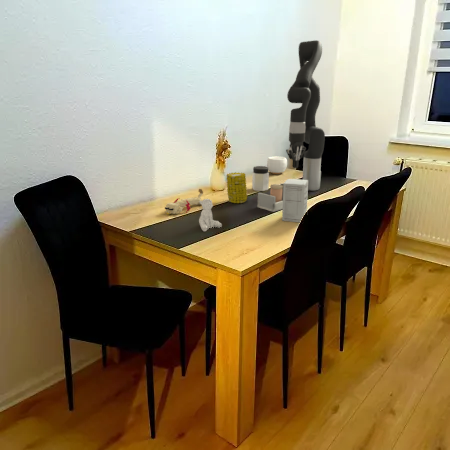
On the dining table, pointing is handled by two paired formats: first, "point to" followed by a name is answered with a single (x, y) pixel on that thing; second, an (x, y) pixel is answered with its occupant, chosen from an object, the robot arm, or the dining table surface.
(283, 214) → the supplement box
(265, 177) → the jar
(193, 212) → the dining table surface
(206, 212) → the seated beast figurine
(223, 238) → the dining table surface
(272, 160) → the cup
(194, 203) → the cat figure
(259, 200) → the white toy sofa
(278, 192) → the jar small
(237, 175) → the yellow woven basket
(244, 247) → the dining table surface
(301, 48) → the robot arm
